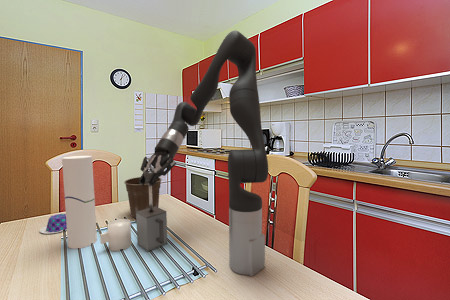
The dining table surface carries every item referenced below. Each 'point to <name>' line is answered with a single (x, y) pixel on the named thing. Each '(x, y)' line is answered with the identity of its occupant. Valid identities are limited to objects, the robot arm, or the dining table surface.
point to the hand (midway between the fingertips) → (145, 183)
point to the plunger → (146, 178)
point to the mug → (117, 235)
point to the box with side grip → (151, 228)
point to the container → (79, 201)
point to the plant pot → (141, 195)
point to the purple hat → (55, 224)
